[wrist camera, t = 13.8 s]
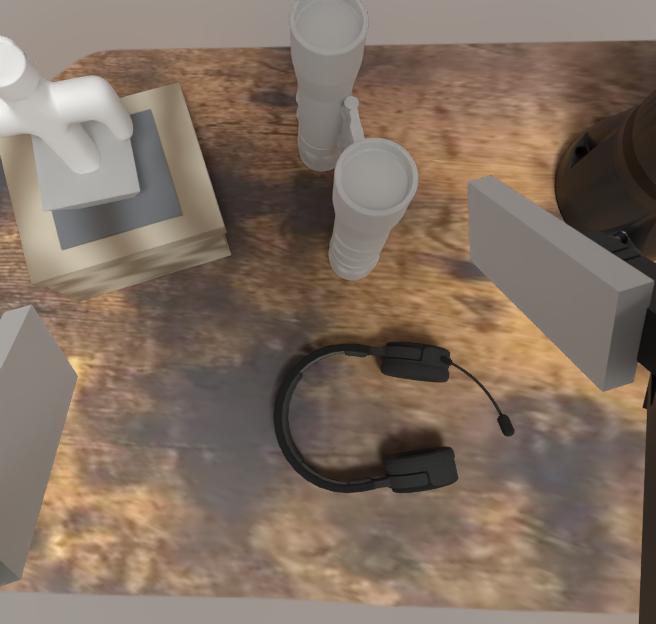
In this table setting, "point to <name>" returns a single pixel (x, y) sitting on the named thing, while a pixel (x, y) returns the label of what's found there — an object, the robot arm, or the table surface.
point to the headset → (404, 468)
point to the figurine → (68, 133)
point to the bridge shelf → (123, 209)
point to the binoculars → (346, 134)
